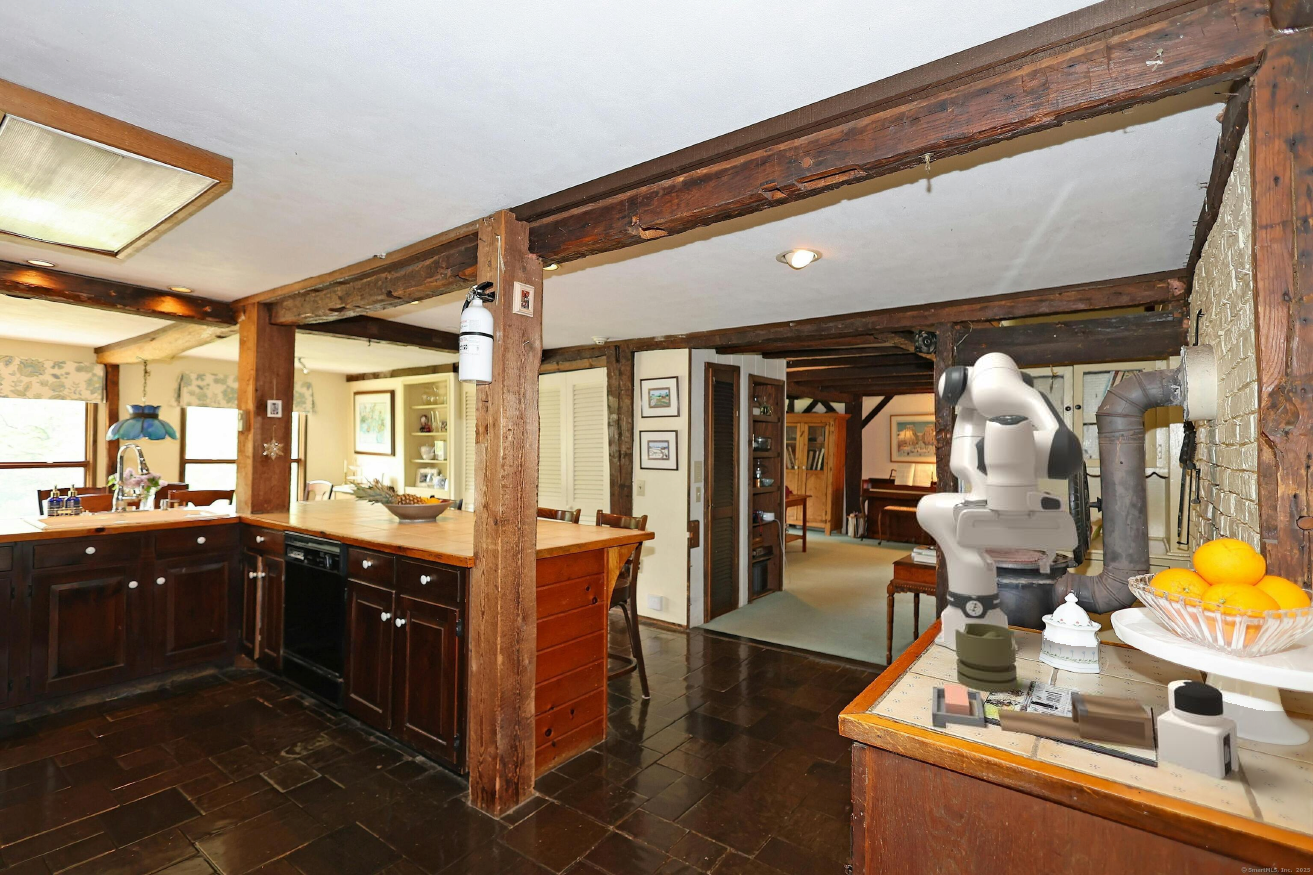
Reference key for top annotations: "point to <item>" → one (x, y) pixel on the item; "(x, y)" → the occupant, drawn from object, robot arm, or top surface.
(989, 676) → the piston
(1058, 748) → the top surface
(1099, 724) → the brown slab
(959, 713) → the salmon pink rectangular prism
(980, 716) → the tray
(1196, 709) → the container
